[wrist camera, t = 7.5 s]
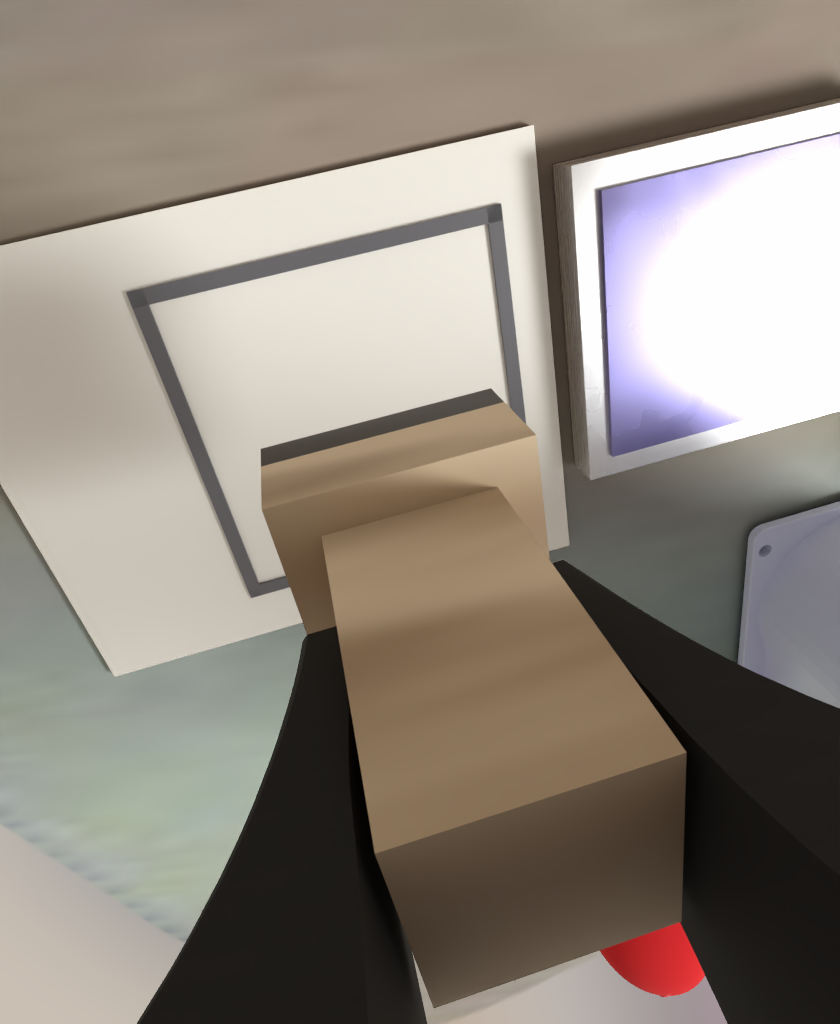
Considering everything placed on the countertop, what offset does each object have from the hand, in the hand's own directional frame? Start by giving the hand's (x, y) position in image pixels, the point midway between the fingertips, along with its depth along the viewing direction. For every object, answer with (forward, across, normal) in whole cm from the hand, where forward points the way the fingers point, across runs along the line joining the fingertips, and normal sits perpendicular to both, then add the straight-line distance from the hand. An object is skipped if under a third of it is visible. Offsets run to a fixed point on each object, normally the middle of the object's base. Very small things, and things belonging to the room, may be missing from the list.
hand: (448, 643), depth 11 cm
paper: (+10, +2, 0) cm, 10 cm away
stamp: (+4, 0, 0) cm, 4 cm away
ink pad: (+10, -11, -1) cm, 15 cm away
